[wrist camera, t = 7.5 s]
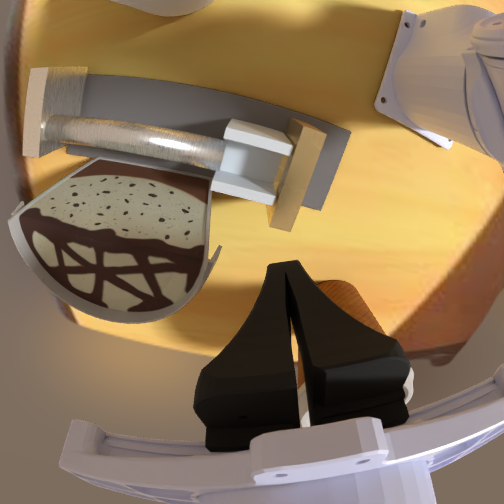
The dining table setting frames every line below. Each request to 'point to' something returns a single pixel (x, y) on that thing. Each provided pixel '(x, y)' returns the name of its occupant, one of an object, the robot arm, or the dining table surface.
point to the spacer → (294, 173)
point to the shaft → (101, 125)
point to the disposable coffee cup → (356, 308)
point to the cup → (166, 6)
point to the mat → (199, 121)
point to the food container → (119, 239)
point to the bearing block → (251, 161)
